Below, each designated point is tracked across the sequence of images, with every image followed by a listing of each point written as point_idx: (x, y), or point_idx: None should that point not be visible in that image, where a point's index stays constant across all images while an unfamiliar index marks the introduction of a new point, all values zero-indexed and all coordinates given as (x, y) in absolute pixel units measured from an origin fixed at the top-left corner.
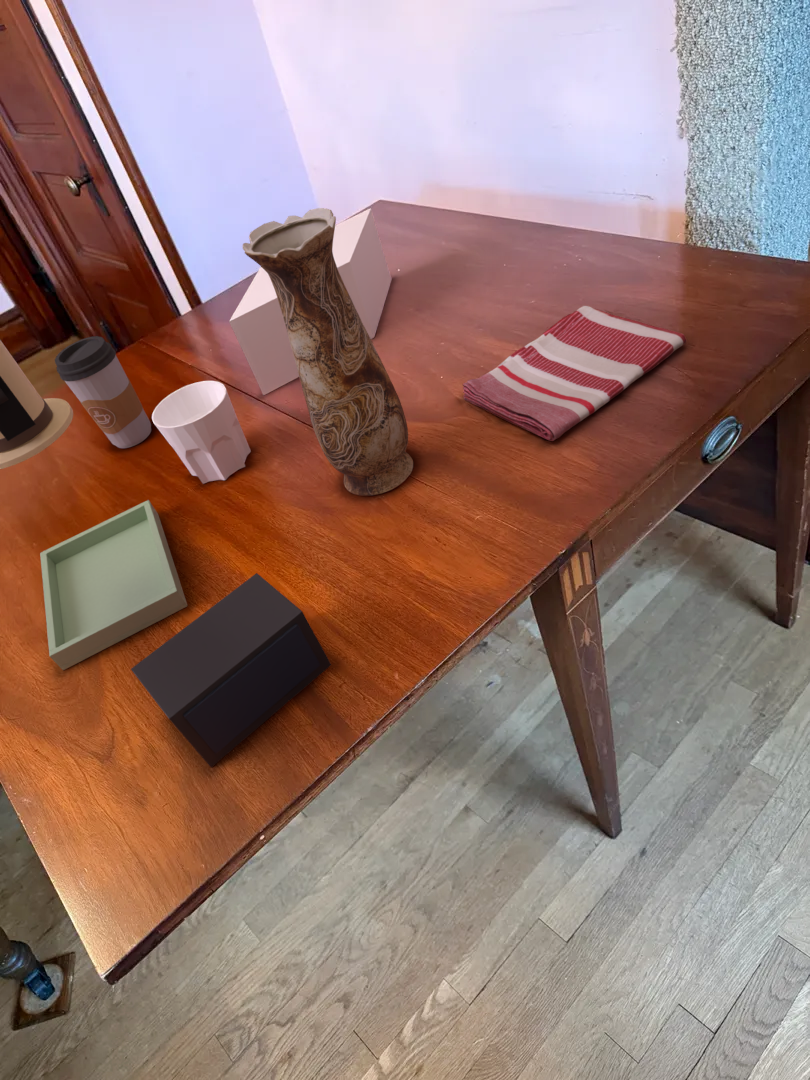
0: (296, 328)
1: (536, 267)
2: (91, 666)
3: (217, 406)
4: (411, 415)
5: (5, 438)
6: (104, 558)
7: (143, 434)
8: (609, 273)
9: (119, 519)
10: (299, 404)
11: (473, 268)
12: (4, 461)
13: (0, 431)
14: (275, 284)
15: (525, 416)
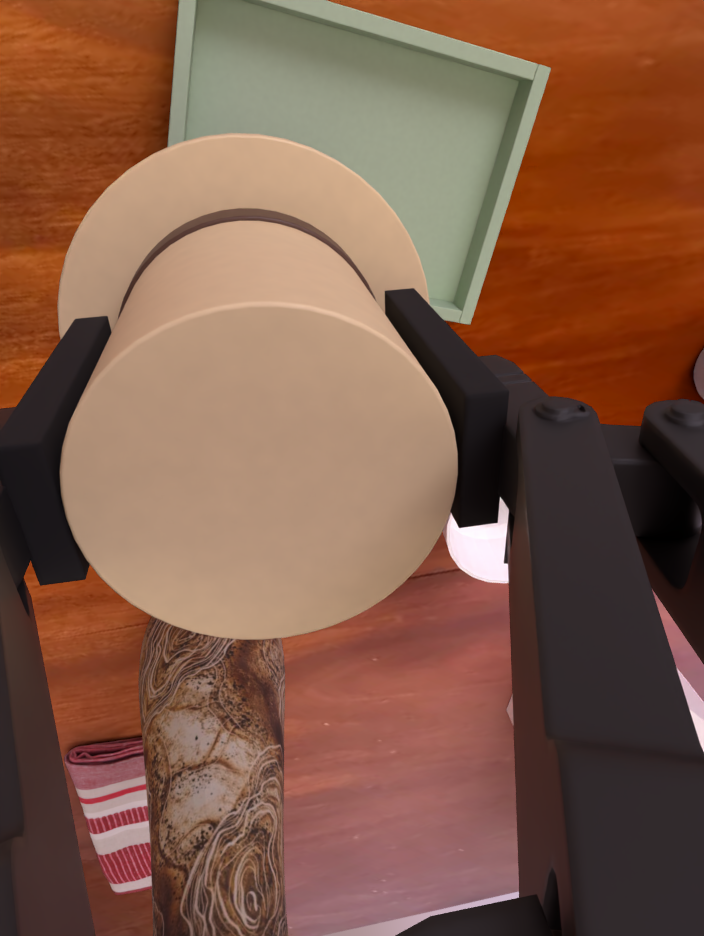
0: (192, 832)
1: (414, 864)
2: (149, 29)
3: (450, 554)
4: (288, 671)
5: (105, 316)
6: (429, 180)
7: (697, 382)
8: (316, 895)
9: (477, 256)
10: (479, 587)
11: (498, 830)
12: (70, 252)
13: (68, 333)
14: (217, 924)
15: (122, 758)
